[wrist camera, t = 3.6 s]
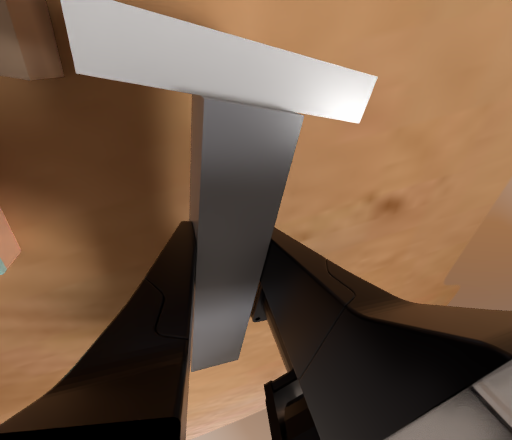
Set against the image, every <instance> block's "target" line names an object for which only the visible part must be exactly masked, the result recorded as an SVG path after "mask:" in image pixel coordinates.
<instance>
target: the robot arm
mask: <svg viewBox="0 0 512 440" xmlns="http://www.w3.org/2000/svg"><path fill="white" fill-rule="evenodd" d="M195 262H196V237H195V232H194V227H193V223H192V221H182V222H181V223H180V224H179V226H178V227H177V229H176V230H175V232H174V233H173V235H172V237H171V238H170V240H169V241H168V243H167V244H166V246H165V247H164V249H163V250H162V252H161V253H160V255H159V256H158V258H157V259H156V261H155V263H154V264H153V266H152V267H151V269H150V270H149V272H148V273H147V275H146V276H145V278H144V280H143V281H142V282H141V284H140V285H139V287H138V288H137V290H136V291H135V293H134V294H133V295H132V297H131V298H130V300H129V301H128V302H127V304H126V305H125V306H124V307H123V309H122V310H121V311H120V312H119V314H118V315H117V316H116V317H115V319H114V320H113V321H112V322H111V323H110V324H109V326H108V327H107V328H106V329H105V330H104V332H103V333H102V334H101V335H100V336H99V337H98V339H97V340H96V341H95V342H94V343H93V345H92V346H91V347H90V348H89V349H88V350H87V352H86V353H85V354H84V355H83V356H82V357H81V359H80V360H79V361H78V362H77V363H76V365H75V366H74V367H73V368H72V369H71V370H70V371H69V372H68V373H67V374H66V375H65V376H64V377H63V378H62V379H61V380H60V381H59V382H58V383H57V384H56V385H55V386H54V387H53V388H52V389H51V390H49V391H48V392H47V393H46V394H44V395H43V396H42V397H40V398H39V399H38V400H36V401H35V402H33V403H32V404H30V405H29V406H27V407H26V408H24V409H23V410H21V411H20V412H18V413H17V414H15V415H14V416H12V417H11V418H9V419H8V420H7V421H5V422H4V423H2V424H1V425H0V440H186V423H187V405H188V388H189V371H190V354H191V336H192V319H193V302H194V284H195ZM260 282H261V284H260V287H259V291H258V294H257V298H256V302H255V305H254V309H253V312H252V316H251V317H252V320H253V322H260V321H264V320H267V321H268V323H269V326H270V329H271V331H272V334H273V336H274V339H275V342H276V344H277V347H278V349H279V352H280V354H281V357H282V360H283V362H284V365H285V367H286V370H287V373H286V374H284V375H282V376H281V377H279V378H277V379H276V380H274V381H269V382H268V383H266V384H264V389H265V395H266V407H267V412H268V419H269V424H270V430H271V436H272V440H512V311H502V310H486V309H475V308H462V307H451V306H439V305H427V304H418V303H413V302H409V301H406V300H403V299H400V298H398V297H396V296H394V295H392V294H390V293H388V292H386V291H384V290H382V289H380V288H378V287H377V286H375V285H373V284H371V283H369V282H367V281H365V280H363V279H361V278H359V277H358V276H356V275H354V274H352V273H350V272H348V271H346V270H345V269H343V268H341V267H340V266H338V265H336V264H334V263H333V262H331V261H329V260H328V259H326V258H324V257H323V256H321V255H319V254H318V253H316V252H315V251H313V250H311V249H310V248H308V247H306V246H305V245H303V244H301V243H300V242H298V241H296V240H295V239H293V238H291V237H290V236H288V235H286V234H285V233H283V232H281V231H280V230H278V229H276V228H275V227H274V229H273V233H272V236H271V240H270V244H269V247H268V251H267V255H266V259H265V262H264V266H263V270H262V273H261V277H260Z"/></svg>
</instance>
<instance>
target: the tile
mask: <svg viewBox="0 0 512 440" xmlns="http://www.w3.org/2000/svg"><path fill="white" fill-rule="evenodd" d="M21 251H22V250H21V248H20V246H19V244H18V242H17V240H16V238H15V236H14V234H13V232H12V230H11V228H10V226H9V224H8V222H7V220H6V218H5V216H4V214H3V211H2V209H1V207H0V275H3V274H4V273H5V271H6V270H7V269H8V268H9V266H10V265H11V264H12V263H13V261H14V260H15V259H16V258H17V256H18V255H19V254H20V253H21Z"/></svg>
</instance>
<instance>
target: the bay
mask: <svg viewBox="0 0 512 440" xmlns="http://www.w3.org/2000/svg"><path fill="white" fill-rule="evenodd" d="M0 76H5V77H12V78H18V79H24V80H39V79H48V78H58V77H64V74H63V70H62V65H61V61H60V57H59V53H58V49H57V45H56V40H55V36H54V32H53V28H52V24H51V20H50V15H49V11H48V7H47V3H46V0H0Z"/></svg>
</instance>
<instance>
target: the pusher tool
mask: <svg viewBox="0 0 512 440" xmlns="http://www.w3.org/2000/svg"><path fill="white" fill-rule="evenodd" d="M60 1H61V6H62V10H63V15H64V19H65V24H66V29H67V33H68V38H69V43H70V47H71V52H72V57H73V61H74V66H75V71H76V73H77V74H82V75H88V76H94V77H99V78H105V79H111V80H116V81H122V82H127V83H133V84H139V85H144V86H150V87H156V88H161V89H167V90H173V91H178V92H184V93H190V94H192V118H191V166H190V214H189V221H192V223H193V227H194V232H195V237H196V262H195V284H194V302H193V319H192V336H191V354H190V361H191V372H194V371H197V370H201V369H205V368H209V367H212V366H216V365H220V364H224V363H227V362H231V361H235V360H238V358H239V354H240V351H241V347H242V343H243V340H244V336H245V332H246V329H247V325H248V321H249V318H250V314H251V310H252V307H253V303H254V299H255V295H256V292H257V288H258V284H259V281H260V277H261V273H262V270H263V266H264V262H265V259H266V255H267V251H268V247H269V244H270V240H271V236H272V233H273V229H274V225H275V222H276V218H277V214H278V211H279V207H280V203H281V200H282V196H283V192H284V188H285V185H286V181H287V177H288V174H289V170H290V166H291V163H292V159H293V155H294V152H295V148H296V144H297V140H298V137H299V133H300V129H301V126H302V122H303V118H304V116H303V115H301V114H298V113H303V114H309V115H314V116H320V117H326V118H331V119H337V120H343V121H348V122H354V123H360V120H361V118H362V115H363V113H364V110H365V108H366V105H367V103H368V100H369V98H370V95H371V93H372V90H373V88H374V85H375V83H376V80H377V78H378V77H376V76H373V75H369V74H366V73H362V72H359V71H355V70H352V69H348V68H345V67H342V66H338V65H335V64H331V63H328V62H324V61H321V60H317V59H314V58H310V57H307V56H304V55H300V54H297V53H293V52H290V51H286V50H283V49H279V48H276V47H272V46H269V45H265V44H262V43H259V42H255V41H252V40H248V39H245V38H241V37H238V36H234V35H231V34H227V33H224V32H221V31H217V30H214V29H210V28H207V27H203V26H200V25H196V24H193V23H189V22H186V21H182V20H179V19H176V18H172V17H169V16H165V15H162V14H158V13H155V12H151V11H148V10H144V9H141V8H137V7H134V6H131V5H127V4H124V3H120V2H117V1H113V0H60ZM295 112H297V113H295Z"/></svg>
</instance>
